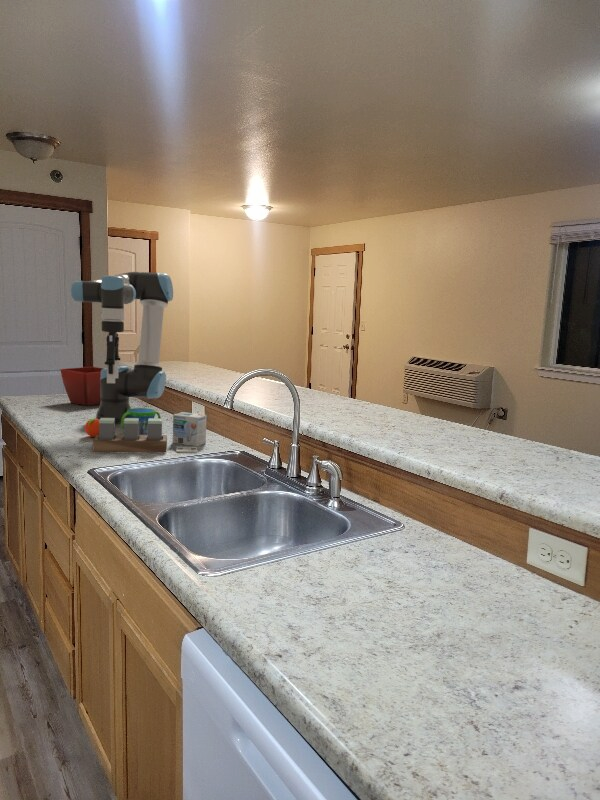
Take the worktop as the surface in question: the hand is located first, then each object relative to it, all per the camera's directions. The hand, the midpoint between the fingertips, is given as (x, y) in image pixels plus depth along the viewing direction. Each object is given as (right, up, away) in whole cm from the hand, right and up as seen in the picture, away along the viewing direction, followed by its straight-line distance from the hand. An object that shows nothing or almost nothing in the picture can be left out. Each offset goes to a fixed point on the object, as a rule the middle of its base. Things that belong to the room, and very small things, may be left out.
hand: (112, 380), depth 215 cm
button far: (+17, -21, -6) cm, 27 cm away
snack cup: (+6, -21, +14) cm, 26 cm away
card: (+27, -25, -5) cm, 37 cm away
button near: (+1, -20, -9) cm, 22 cm away
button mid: (+9, -21, -7) cm, 23 cm away
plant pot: (-37, -9, +81) cm, 90 cm away
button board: (+8, -24, -7) cm, 26 cm away
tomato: (-10, -21, +9) cm, 25 cm away
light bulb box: (+26, -23, +7) cm, 36 cm away
